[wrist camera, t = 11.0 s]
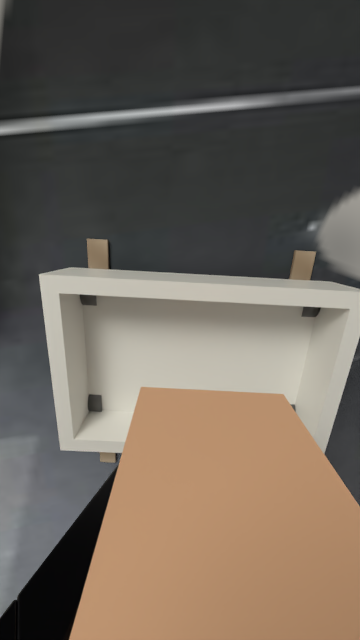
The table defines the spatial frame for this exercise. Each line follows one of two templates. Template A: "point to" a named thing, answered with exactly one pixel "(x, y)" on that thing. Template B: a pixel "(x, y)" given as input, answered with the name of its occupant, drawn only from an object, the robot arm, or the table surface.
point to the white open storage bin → (191, 344)
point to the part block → (223, 528)
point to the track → (100, 260)
